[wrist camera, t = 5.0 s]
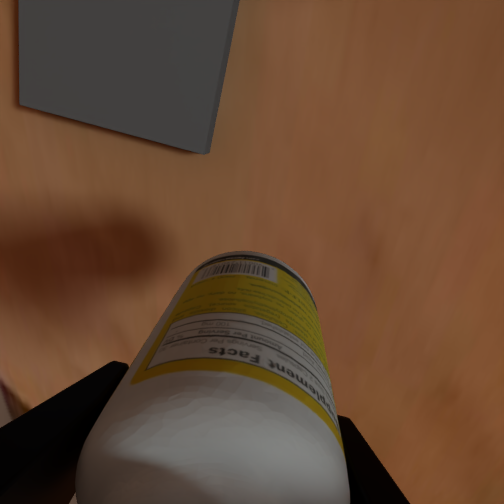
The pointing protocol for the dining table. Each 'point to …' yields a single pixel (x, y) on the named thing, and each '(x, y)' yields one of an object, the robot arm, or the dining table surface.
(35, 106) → the charcoal block
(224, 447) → the supplement bottle
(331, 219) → the dining table surface
